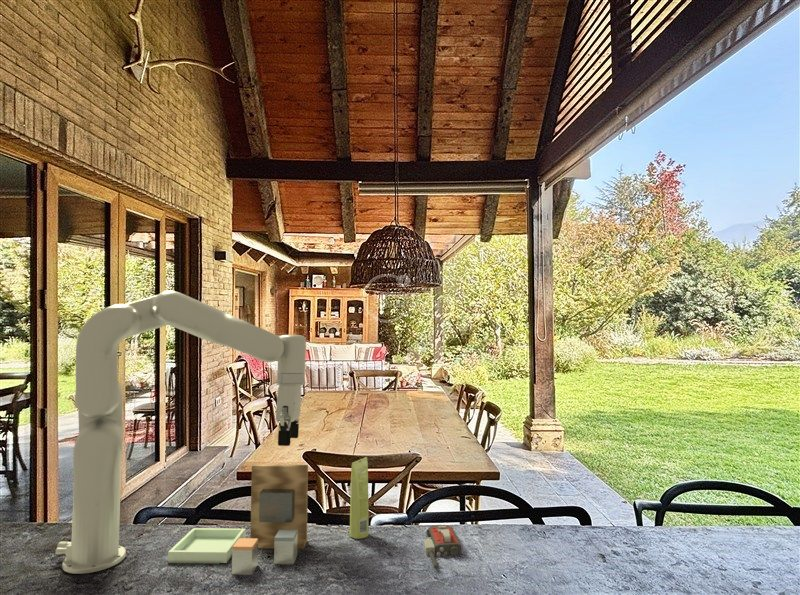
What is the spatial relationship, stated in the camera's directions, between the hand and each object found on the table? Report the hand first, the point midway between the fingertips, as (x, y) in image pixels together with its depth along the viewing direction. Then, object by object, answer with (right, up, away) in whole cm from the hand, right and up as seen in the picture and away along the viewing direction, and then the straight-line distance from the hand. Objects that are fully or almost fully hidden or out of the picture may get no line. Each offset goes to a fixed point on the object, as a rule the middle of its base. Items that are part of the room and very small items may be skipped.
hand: (288, 441), depth 139 cm
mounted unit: (0, -22, -13) cm, 26 cm away
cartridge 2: (+4, -22, -21) cm, 31 cm away
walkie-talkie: (+41, -23, -16) cm, 50 cm away
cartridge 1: (-4, -21, -26) cm, 34 cm away
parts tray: (-16, -22, -16) cm, 32 cm away
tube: (+20, -23, -7) cm, 31 cm away
